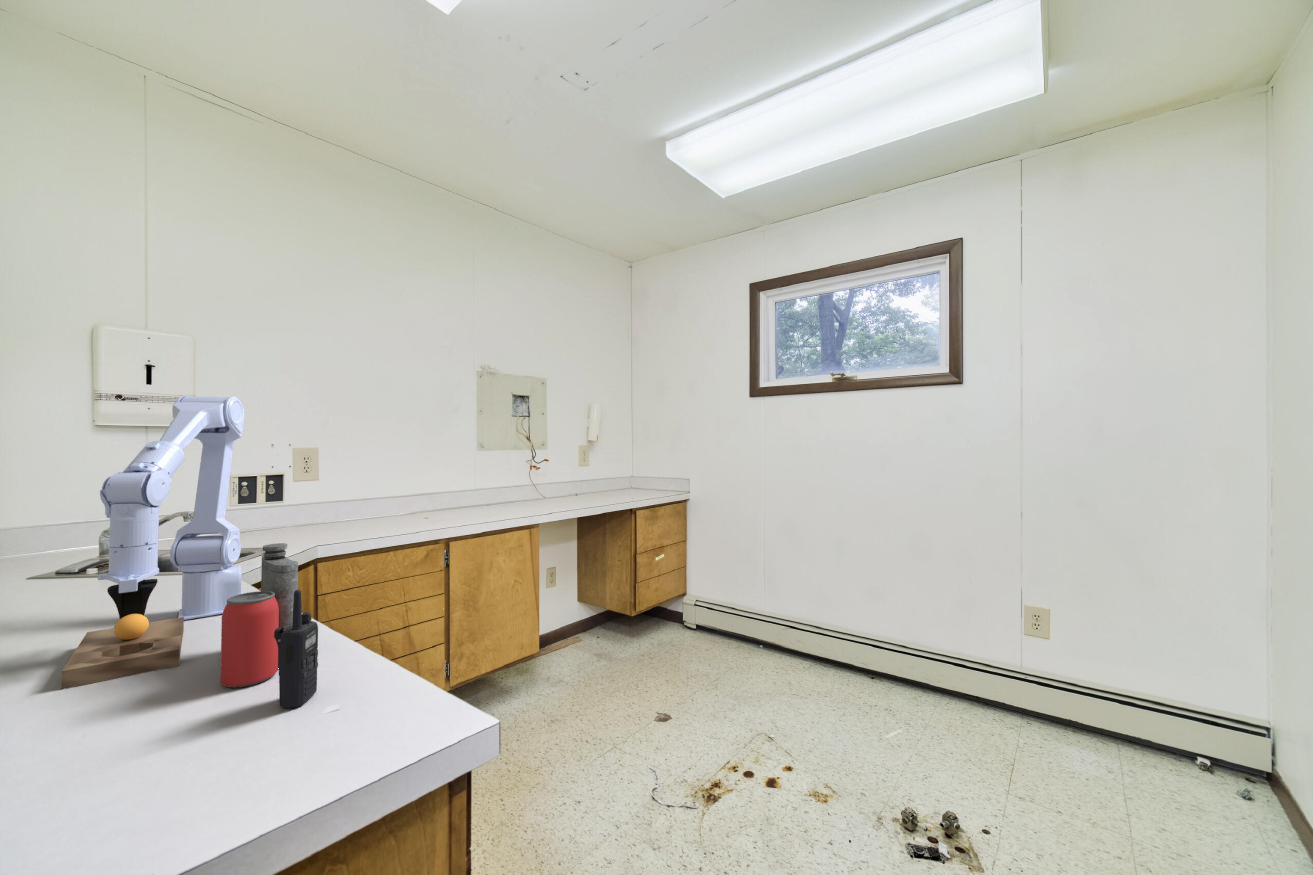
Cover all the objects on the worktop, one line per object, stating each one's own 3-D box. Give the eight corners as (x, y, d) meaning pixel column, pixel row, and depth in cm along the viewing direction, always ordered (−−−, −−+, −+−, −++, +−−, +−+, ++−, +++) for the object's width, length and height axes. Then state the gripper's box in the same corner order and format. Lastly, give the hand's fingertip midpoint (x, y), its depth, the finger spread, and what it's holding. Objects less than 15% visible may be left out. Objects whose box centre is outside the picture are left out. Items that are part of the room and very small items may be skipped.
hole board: (183, 630, 95) (183, 616, 95) (178, 665, 80) (179, 649, 80) (86, 646, 87) (87, 632, 87) (61, 689, 72) (61, 671, 72)
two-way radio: (300, 710, 66) (302, 592, 66) (262, 712, 66) (264, 594, 66) (321, 690, 72) (323, 581, 72) (286, 692, 71) (288, 582, 71)
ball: (150, 615, 87) (148, 607, 85) (149, 639, 86) (147, 632, 83) (116, 621, 85) (113, 613, 82) (114, 645, 83) (111, 638, 81)
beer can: (287, 674, 77) (289, 593, 77) (236, 693, 71) (237, 605, 71) (261, 666, 79) (263, 588, 80) (210, 684, 73) (211, 599, 74)
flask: (269, 672, 77) (271, 551, 78) (253, 646, 87) (255, 539, 88) (298, 665, 80) (300, 548, 80) (280, 640, 90) (281, 537, 90)
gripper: (106, 541, 88) (103, 621, 88) (90, 554, 77) (88, 645, 77) (163, 536, 93) (161, 612, 93) (156, 548, 82) (154, 635, 82)
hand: (132, 627), depth 85 cm, fingers closed, pressing on ball
